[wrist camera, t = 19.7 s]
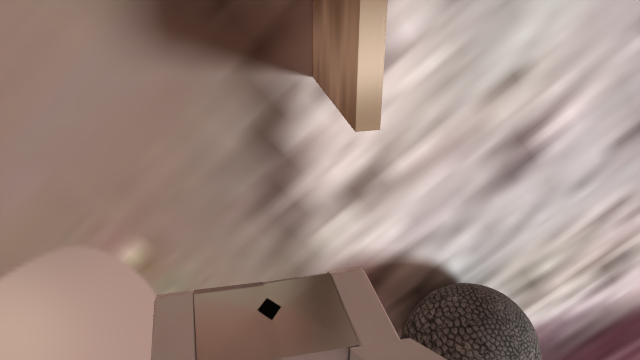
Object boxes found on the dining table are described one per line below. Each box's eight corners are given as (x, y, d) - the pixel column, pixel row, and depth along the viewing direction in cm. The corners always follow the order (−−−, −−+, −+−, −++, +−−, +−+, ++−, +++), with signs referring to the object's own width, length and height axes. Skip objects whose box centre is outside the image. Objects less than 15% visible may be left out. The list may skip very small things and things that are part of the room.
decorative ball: (419, 243, 41) (484, 336, 32) (517, 273, 45) (600, 362, 36) (360, 343, 44) (405, 451, 35) (457, 362, 48) (519, 464, 39)
